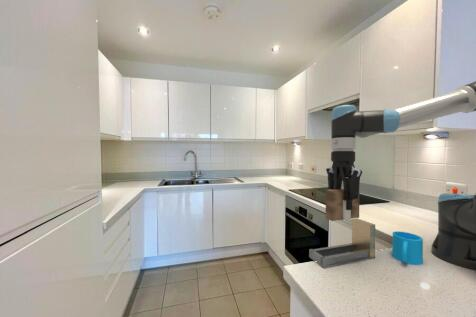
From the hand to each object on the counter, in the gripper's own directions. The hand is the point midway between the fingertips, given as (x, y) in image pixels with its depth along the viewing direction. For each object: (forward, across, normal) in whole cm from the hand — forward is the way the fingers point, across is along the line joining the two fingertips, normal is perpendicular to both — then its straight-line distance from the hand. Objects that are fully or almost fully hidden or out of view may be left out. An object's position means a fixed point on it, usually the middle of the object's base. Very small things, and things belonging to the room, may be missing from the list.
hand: (342, 217), depth 69 cm
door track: (+15, 0, +1) cm, 15 cm away
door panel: (0, 0, 0) cm, 0 cm away
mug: (+15, +8, +21) cm, 27 cm away
